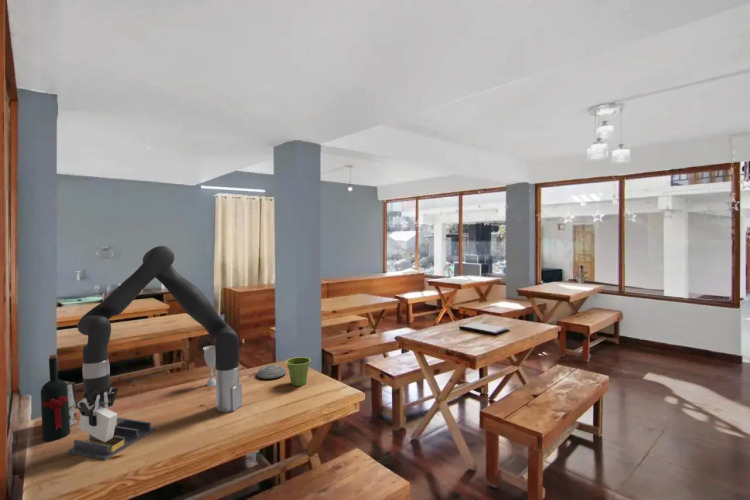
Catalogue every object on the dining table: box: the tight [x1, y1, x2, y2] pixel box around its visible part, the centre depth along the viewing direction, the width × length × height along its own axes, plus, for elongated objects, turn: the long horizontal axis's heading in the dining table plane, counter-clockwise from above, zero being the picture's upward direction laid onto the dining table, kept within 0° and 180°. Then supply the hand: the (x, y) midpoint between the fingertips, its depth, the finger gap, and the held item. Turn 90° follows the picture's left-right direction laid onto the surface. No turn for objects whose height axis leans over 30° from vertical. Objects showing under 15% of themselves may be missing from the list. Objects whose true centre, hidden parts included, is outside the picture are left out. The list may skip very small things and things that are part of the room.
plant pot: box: [285, 356, 312, 387], centre depth 189 cm, size 12×12×11 cm
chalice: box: [202, 345, 216, 387], centre depth 189 cm, size 7×7×18 cm
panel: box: [77, 401, 118, 442], centre depth 133 cm, size 12×3×9 cm, turn 75°
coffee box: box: [41, 380, 78, 427], centre depth 150 cm, size 9×6×16 cm
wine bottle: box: [40, 353, 71, 442], centre depth 141 cm, size 8×10×30 cm
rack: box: [68, 417, 156, 461], centre depth 139 cm, size 16×20×4 cm
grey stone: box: [255, 364, 287, 380], centre depth 201 cm, size 15×15×6 cm
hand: (98, 423), depth 133 cm, fingers closed on panel, 3 cm apart
